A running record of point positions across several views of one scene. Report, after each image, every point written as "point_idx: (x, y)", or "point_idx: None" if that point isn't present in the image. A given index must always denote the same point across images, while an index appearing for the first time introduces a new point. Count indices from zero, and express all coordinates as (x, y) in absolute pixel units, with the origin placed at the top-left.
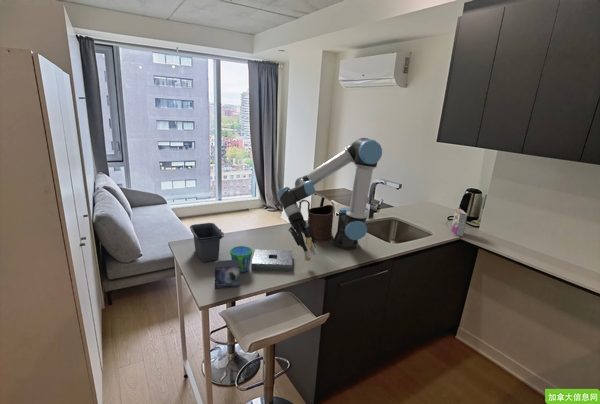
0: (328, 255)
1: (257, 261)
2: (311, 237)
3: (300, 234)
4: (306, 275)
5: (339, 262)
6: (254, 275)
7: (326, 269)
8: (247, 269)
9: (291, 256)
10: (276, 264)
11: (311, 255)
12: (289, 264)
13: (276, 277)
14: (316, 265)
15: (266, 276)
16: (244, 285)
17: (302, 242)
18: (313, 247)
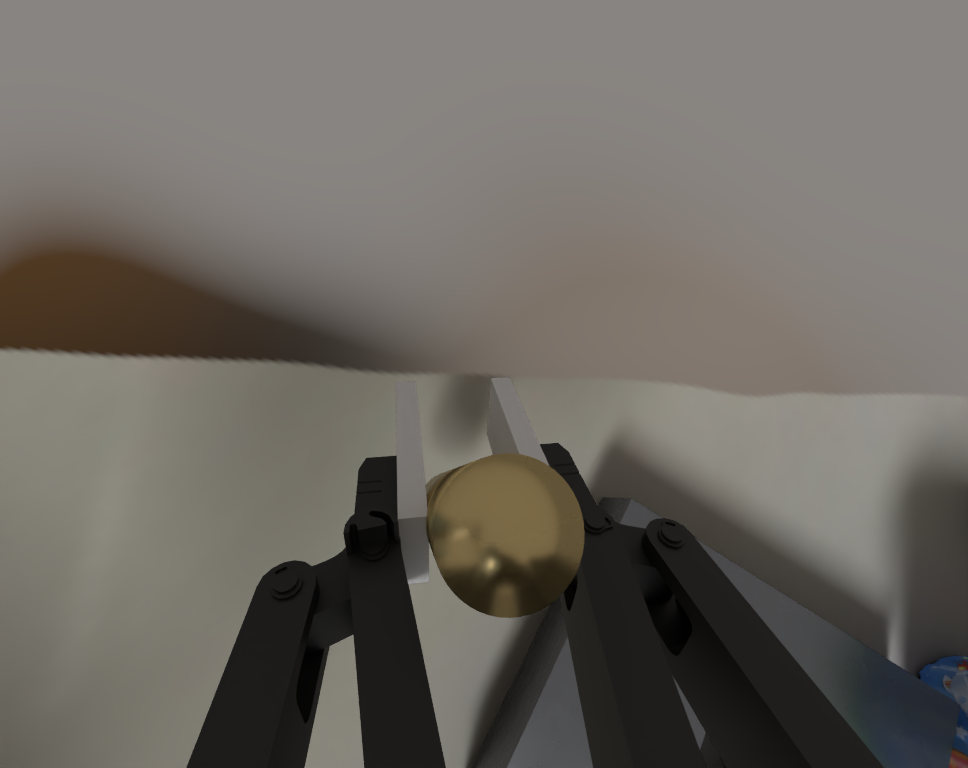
0: (44, 637)
1: (906, 719)
2: (448, 507)
3: (693, 760)
4: (529, 386)
5: (85, 434)
6: (878, 572)
7: (316, 385)
8: (938, 667)
9: (555, 683)
10: (758, 578)
11: (500, 379)
12: (651, 519)
13: (743, 469)
14: (347, 489)
15: (804, 517)
16: (952, 476)
17: (619, 547)
18: (421, 446)
